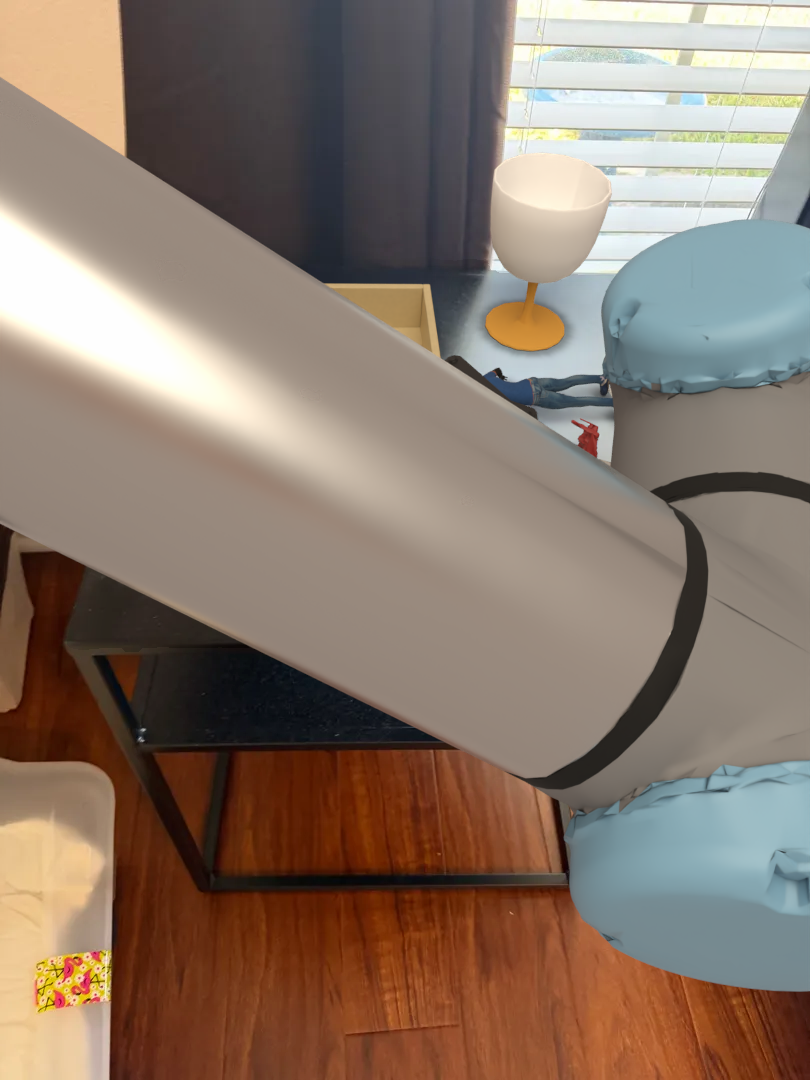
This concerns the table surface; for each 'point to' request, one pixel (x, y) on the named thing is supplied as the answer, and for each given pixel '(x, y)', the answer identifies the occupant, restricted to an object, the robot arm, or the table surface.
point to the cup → (542, 236)
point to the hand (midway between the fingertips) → (279, 436)
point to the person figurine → (550, 390)
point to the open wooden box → (398, 308)
